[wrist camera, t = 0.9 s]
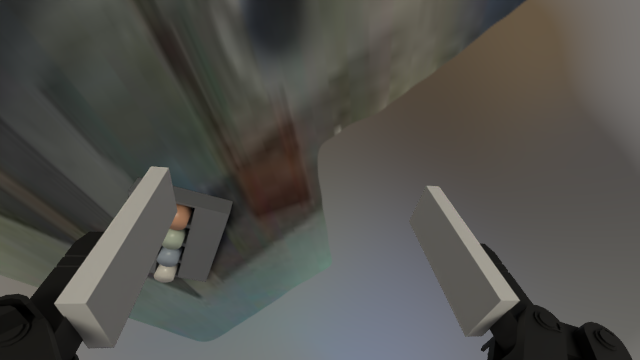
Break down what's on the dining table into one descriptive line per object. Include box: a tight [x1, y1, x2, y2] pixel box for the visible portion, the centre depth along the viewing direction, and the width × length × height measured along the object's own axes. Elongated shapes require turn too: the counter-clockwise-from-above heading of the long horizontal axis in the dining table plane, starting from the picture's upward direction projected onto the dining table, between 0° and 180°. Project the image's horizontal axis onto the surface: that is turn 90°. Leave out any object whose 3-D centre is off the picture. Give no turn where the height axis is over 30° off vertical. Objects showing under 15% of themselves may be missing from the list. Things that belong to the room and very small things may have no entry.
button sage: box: [162, 228, 187, 250], centre depth 56 cm, size 4×4×4 cm
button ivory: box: [154, 263, 179, 282], centre depth 63 cm, size 4×4×4 cm
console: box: [128, 177, 233, 282], centre depth 60 cm, size 18×24×4 cm
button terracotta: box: [170, 204, 192, 230], centre depth 53 cm, size 4×4×4 cm
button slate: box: [157, 246, 183, 267], centre depth 59 cm, size 4×4×4 cm
